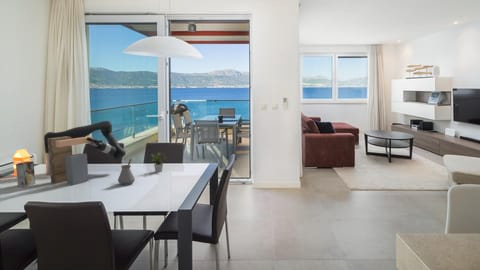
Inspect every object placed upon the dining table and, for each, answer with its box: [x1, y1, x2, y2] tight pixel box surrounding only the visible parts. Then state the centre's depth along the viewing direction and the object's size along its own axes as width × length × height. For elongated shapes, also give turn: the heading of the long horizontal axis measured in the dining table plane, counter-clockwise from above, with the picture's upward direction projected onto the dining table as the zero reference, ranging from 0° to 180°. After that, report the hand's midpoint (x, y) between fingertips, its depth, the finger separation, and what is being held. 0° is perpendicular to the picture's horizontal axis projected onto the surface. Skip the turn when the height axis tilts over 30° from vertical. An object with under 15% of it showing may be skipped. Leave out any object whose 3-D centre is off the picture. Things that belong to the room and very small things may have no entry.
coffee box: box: [16, 161, 36, 188], centre depth 239 cm, size 9×6×16 cm
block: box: [56, 135, 94, 147], centre depth 243 cm, size 4×26×4 cm, turn 149°
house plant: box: [150, 152, 167, 173], centre depth 277 cm, size 14×14×16 cm
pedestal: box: [65, 152, 89, 186], centre depth 245 cm, size 7×12×20 cm, turn 149°
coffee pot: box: [117, 158, 136, 186], centre depth 246 cm, size 21×12×15 cm, turn 4°
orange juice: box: [12, 148, 31, 177], centre depth 271 cm, size 8×9×20 cm
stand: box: [48, 136, 73, 185], centre depth 249 cm, size 6×14×32 cm, turn 149°
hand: (85, 138), depth 249 cm, fingers closed on block, 4 cm apart
